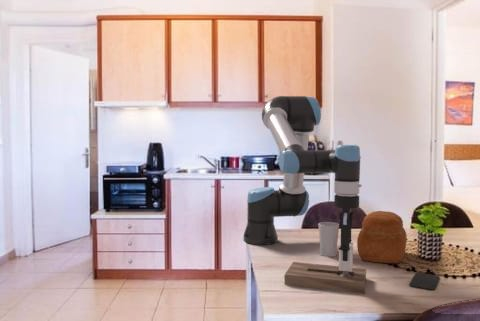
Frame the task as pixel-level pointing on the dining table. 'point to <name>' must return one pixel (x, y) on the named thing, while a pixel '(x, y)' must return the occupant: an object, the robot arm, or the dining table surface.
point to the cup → (328, 238)
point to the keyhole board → (325, 277)
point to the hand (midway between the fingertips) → (345, 268)
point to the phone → (424, 281)
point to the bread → (382, 238)
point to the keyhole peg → (346, 273)
